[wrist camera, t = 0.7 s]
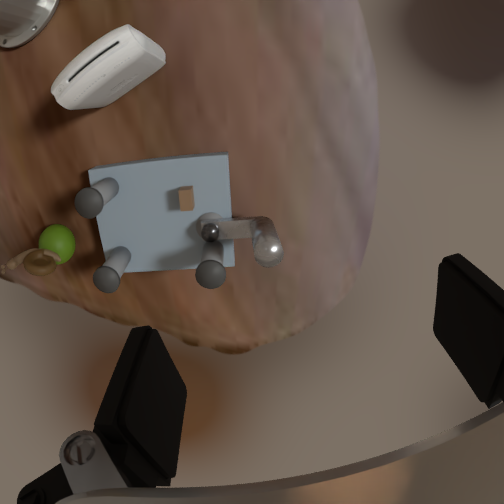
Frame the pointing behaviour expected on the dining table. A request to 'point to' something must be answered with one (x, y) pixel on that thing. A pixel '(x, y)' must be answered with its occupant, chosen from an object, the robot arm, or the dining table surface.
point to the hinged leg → (247, 236)
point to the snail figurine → (46, 252)
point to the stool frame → (160, 216)
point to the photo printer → (108, 69)
